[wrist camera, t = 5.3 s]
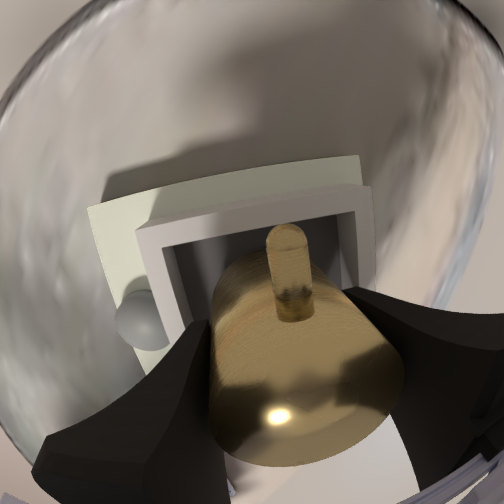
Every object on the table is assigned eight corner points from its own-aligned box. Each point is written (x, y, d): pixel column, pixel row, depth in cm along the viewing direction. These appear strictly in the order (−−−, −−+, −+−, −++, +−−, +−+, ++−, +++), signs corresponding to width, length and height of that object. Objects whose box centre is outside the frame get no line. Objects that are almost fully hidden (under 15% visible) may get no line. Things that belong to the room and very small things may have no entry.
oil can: (330, 338, 12) (390, 435, 6) (226, 361, 12) (235, 477, 6) (316, 188, 10) (419, 212, 4) (187, 212, 10) (146, 266, 4)
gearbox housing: (355, 345, 16) (381, 380, 13) (162, 384, 15) (154, 426, 12) (344, 155, 13) (382, 153, 9) (99, 203, 12) (64, 215, 9)
